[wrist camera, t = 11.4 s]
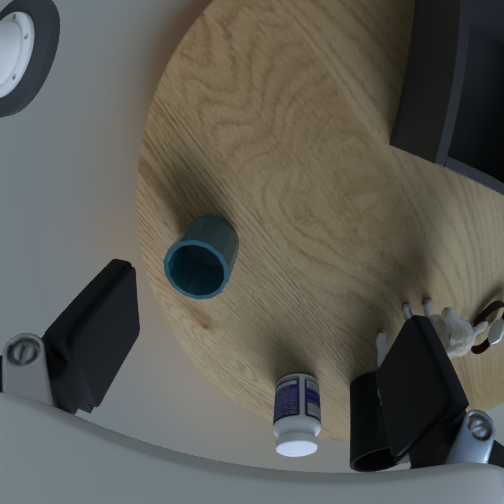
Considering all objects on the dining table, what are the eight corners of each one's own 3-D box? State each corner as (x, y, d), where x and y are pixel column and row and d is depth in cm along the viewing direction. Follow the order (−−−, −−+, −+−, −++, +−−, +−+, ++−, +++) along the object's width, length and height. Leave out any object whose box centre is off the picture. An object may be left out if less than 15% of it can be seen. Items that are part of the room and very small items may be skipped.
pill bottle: (274, 396, 38) (269, 457, 30) (277, 370, 36) (272, 437, 27) (315, 397, 38) (316, 459, 29) (322, 372, 35) (326, 439, 26)
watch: (478, 344, 32) (488, 362, 28) (458, 341, 31) (468, 360, 28) (508, 300, 28) (521, 316, 25) (488, 294, 28) (502, 311, 25)
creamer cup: (172, 236, 29) (151, 262, 24) (214, 204, 27) (198, 227, 22) (207, 276, 31) (193, 308, 26) (250, 249, 29) (243, 279, 24)
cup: (330, 391, 37) (336, 468, 26) (369, 359, 34) (386, 441, 23) (369, 405, 38) (379, 474, 27) (406, 376, 35) (427, 448, 24)
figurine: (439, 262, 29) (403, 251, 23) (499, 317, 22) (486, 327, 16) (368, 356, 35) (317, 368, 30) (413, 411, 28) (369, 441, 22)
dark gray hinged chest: (496, 189, 23) (549, 221, 15) (389, 144, 23) (434, 163, 15) (520, 59, 16) (575, 58, 8) (415, -5, 16) (460, -37, 8)
